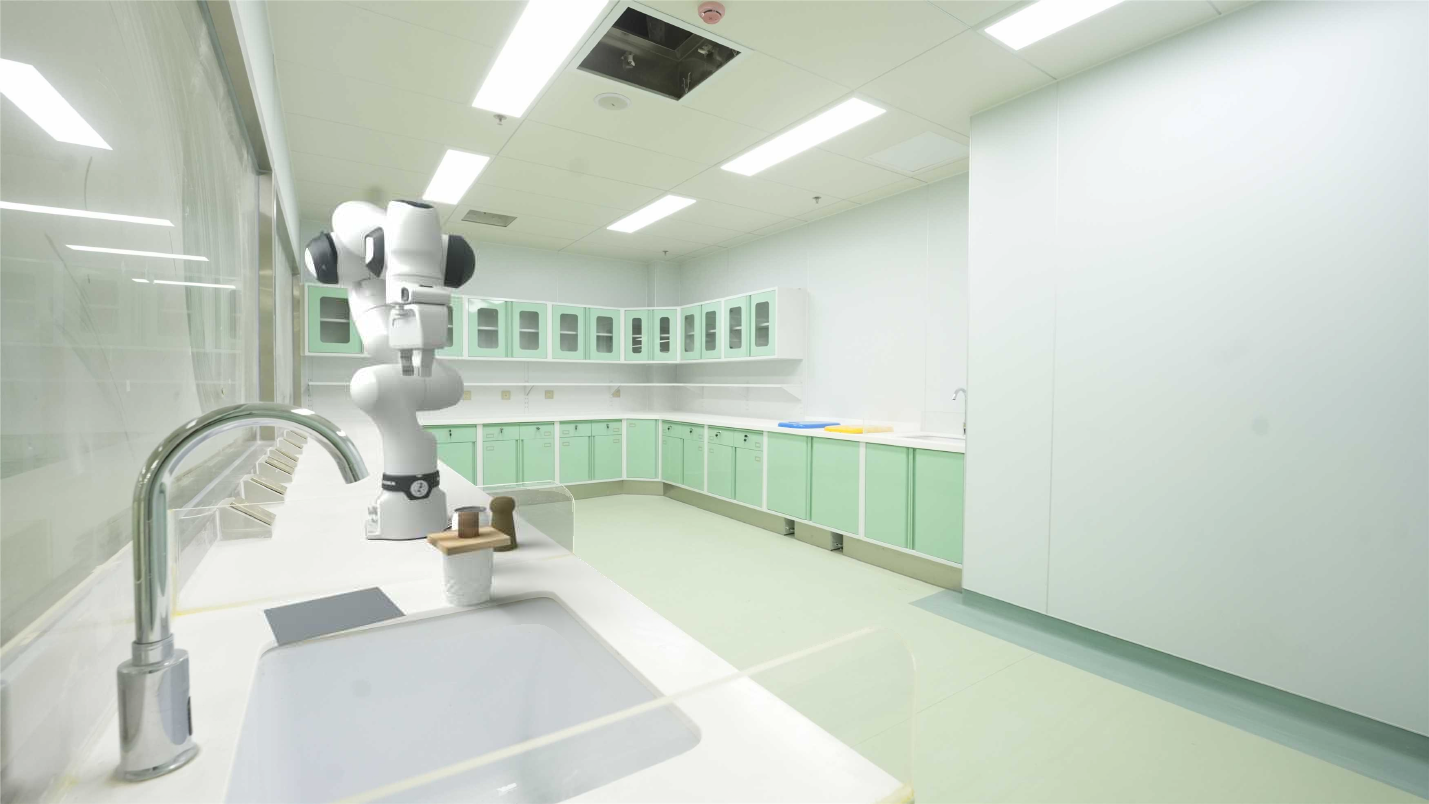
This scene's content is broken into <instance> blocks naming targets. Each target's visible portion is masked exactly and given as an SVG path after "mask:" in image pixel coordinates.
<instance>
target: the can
mask: <svg viewBox="0 0 1429 804" xmlns="http://www.w3.org/2000/svg"><path fill="white" fill-rule="evenodd" d="M486 510H487V508H486V506H480V505H469V506H461V507H458V508H455V509H454V514H453V516H452V517H451V520H452V526H451V530H458V514H460V513H464V512H477V513H479V526H483V525H488V526H490V525H489V522H490V521H489V519H490V518H489V514H488V512H487V511H486Z"/></svg>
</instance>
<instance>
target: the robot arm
mask: <svg viewBox="0 0 1429 804" xmlns="http://www.w3.org/2000/svg"><path fill="white" fill-rule="evenodd" d="M438 211H439V210H438V209H437V208H435V206H433V205H431V204H428V203H423V202H418V201H412V200H404V199H394V200H391V201H389V202H388V205H387V210H384V208H382V207H380V206H377V205H375V204H374V203H372V202H368V201H364V200H349V201H346V202H343V203H341V204H340V205H338V206H337V207H336V208H335V209H334V212H333V213H332V218H331V225H332V229H333V231H332V232H324V230H321V231H319V235H318V236H315V237H313V238H312V239H310V240H309V241H308V242H307V244H306V245H305V253H304V260H305V264H306V267H307V269H308V271H309V272H310V273H311V275H312V276H313V277H314V278H315V280H316V281H318V282H319V283H321V284H322V285H339V283H343V284H344V283H351V284H349V286H348V289H347V299H348V305H349V309H350V313H351V317H352V321H353V322H354V325H355V328H356V330H357V333H358V335H359V337H360V339H361V343H362V345H363V346H364V349H365V351H366V353H367V354H368V355H369V356H370V358H372V359H373V360H375V361H377V362H378V363H381V364H377V365H371V366H367V367H362V368H360V369H358V370H357V371H356V372H355V373H354V375H353V377H352V379H351V381H350V384H349V385H350V386H349V394H350V398H351V399H352V402H353V403H354V405H355V406H356V407H357V408H358V409H359V410H360V411H363V412H364V413H365V414H366V415H368V416H369V418H371V420H372V421H373V422H374V425H376V428H378V431H379V433H380V434H379V435H380V436H381V441H382V448H383V463H384V466H383V467H384V470H383V471H384V472H383V473H382V477H381V491H380V493H379V495H378V496H377V498H376V499H375V501H374V503H372V504H369V505H368V506H367V515H368V516H372V518H370V519H367V520H364V530H365V536H366V539H368V540H371V539H372V540H374V539H375V540H376V539H377V540H378V539H379V540H380V539H382V540H410V539H412V540H413V539H420V538H424V537H426V538H427V534H432V533H439V532H445V530H447V528H446V527H448V526H450V525H452V519H449V518H448V506H447V502H448V501H447V494H446V492H444V490H442V489H441V488H440V487H439V486H440V483H441V481H440V480H441V475H440V470H439V469H438V439H437V438H436V436H435V434H433V433H432V432H431V431H429V430H427V429H426V428H424V427H422V426H421V424H420V423H419V421H418V417H417V412H435V411H441V410H443V409H447V408H451V407H453V406H456V405H457V404H459V403H460V401H461V399H462V397H463V395H464V389H465V387H464V382H463V378H462V376H461V374H460V373H459V372H458V371H457V370H456V369H454V368H453V367H450V366H448V365H447V364H445V363H444V362H442V361H441V360H439V359H438V358H437V357H436V355H435V352H436V351H435V350H444V349H445V347H446V344H447V340H448V331H449V330H448V329H449V327H448V326H449V310H448V307H447V306H449V305H450V304H451V303H452V302H451V301H452V300H451V299H452V296H451V295H452V294H451V292H450V291H449V290H447V289H446V288H451V289H459V288H461V287H462V286H464V285H466V284H467V283H468V282H469V281H470V280H471V279H472V278H473V275H474V273H475V269H476V255H475V253H474V252H475V251H474V249H473V248H472V247H471V245H470V243H468V241H467V240H466V239H465V238H464V237H463V236H462V235H456V234H443V233H442V226H441V221H440V215H439V212H438ZM445 287H446V288H445ZM373 515H374V516H373Z"/></svg>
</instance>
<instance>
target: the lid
mask: <svg viewBox="0 0 1429 804" xmlns="http://www.w3.org/2000/svg"><path fill="white" fill-rule="evenodd" d="M426 542H427V543H429V544H430V545H432V546H433V547H435V548H436V549H437V550H438V551H440V552H441V553H442V554H443V553H444V554H445V555H447V556H450V555H455V554H461V553H466V552H472V551H477V550H483V549H488V548H494V547H499V546H504V545H510V537H509V536H507V535H505V534H504V533H502V532H500V531H498V530H496V529H494V528H492V527H491V525H489V526H488V525H483V526H479V513H477V512H464V513H460V514H458V530H452V529H451V530H446V531H445V530H444V531H442V532H439V533H432V534H427V536H426Z"/></svg>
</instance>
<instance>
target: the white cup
mask: <svg viewBox="0 0 1429 804" xmlns="http://www.w3.org/2000/svg"><path fill="white" fill-rule="evenodd" d="M442 564H443V565H442V567H443V568H442V569H443V579H444V588H445V596H446V597H445V598H446V599H445V600H446V603H448V604H449V605H452V606H456V607H457V606H458V607H462V606H463V607H466V606H472V605H478V604H482V603H484V602H486V601H488V602H491V601H490V600H491V590H492V583H493V581H492V580H493V571H494V569H493V568H494V567H493V565H494V552H493V548H488V549H483V550H477V551H472V552H466V553H461V554H455V555H450V556H447V555H445V554H444V553H443V552H442Z"/></svg>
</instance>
